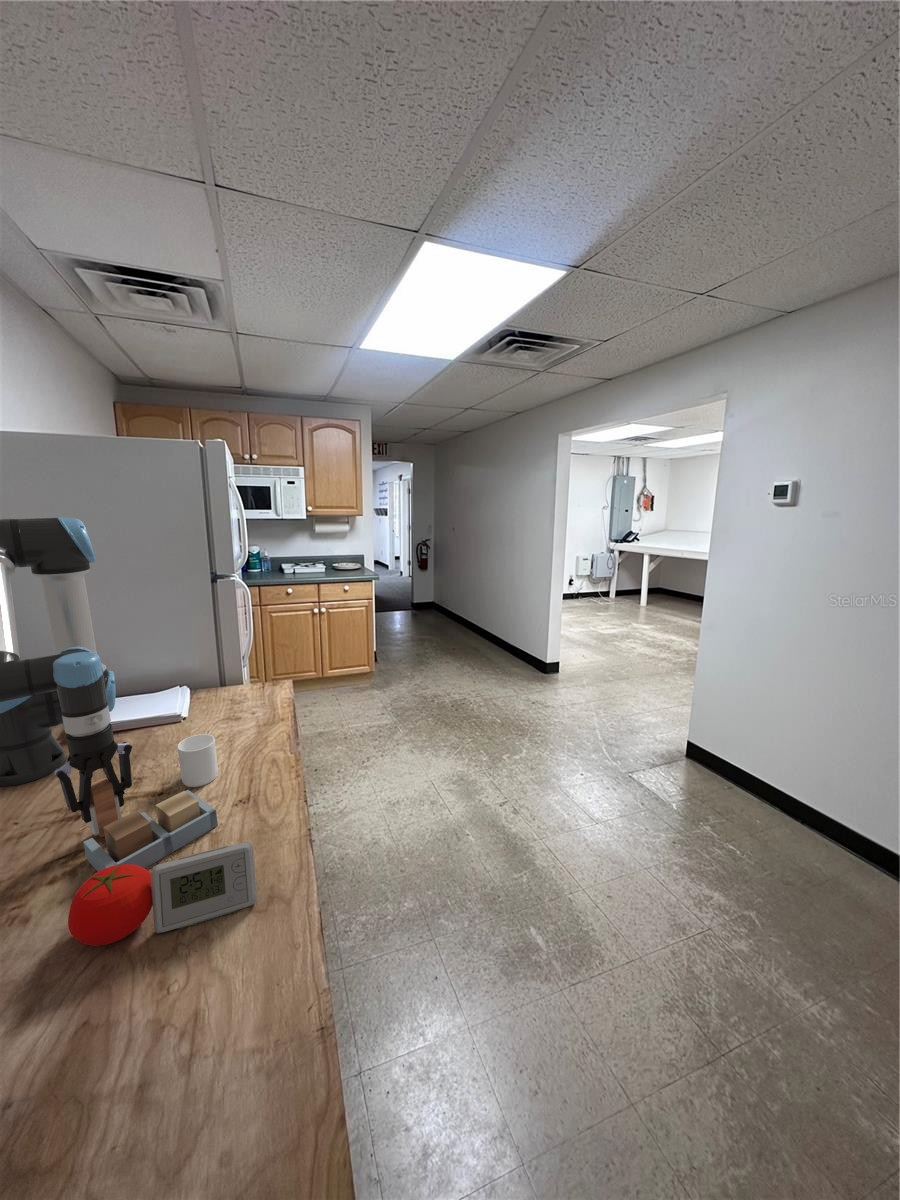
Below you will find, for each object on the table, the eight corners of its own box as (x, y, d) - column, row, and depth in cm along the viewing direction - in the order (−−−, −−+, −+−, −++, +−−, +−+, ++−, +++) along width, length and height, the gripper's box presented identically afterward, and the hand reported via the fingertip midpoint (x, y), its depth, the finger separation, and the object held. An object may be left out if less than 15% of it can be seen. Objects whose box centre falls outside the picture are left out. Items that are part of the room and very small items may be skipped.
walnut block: (87, 833, 100) (78, 788, 97) (119, 818, 105) (111, 774, 102) (121, 871, 91) (113, 822, 88) (155, 851, 96) (147, 805, 93)
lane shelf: (86, 858, 94) (83, 842, 93) (189, 804, 111) (187, 789, 110) (111, 887, 88) (108, 869, 87) (217, 825, 104) (216, 809, 103)
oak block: (159, 833, 102) (155, 805, 100) (187, 817, 106) (184, 790, 105) (173, 845, 98) (169, 816, 97) (201, 828, 103) (198, 800, 102)
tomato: (84, 912, 83) (74, 862, 80) (164, 890, 87) (157, 842, 85) (62, 971, 73) (50, 916, 70) (154, 943, 77) (145, 890, 75)
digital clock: (149, 939, 78) (140, 886, 75) (168, 894, 87) (161, 845, 84) (253, 922, 81) (248, 871, 79) (262, 880, 90) (257, 833, 87)
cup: (182, 791, 115) (177, 754, 113) (181, 766, 125) (177, 732, 123) (219, 781, 119) (215, 746, 117) (216, 758, 129) (212, 725, 127)
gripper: (43, 752, 87) (65, 858, 93) (141, 717, 100) (156, 812, 106) (30, 739, 91) (52, 841, 97) (126, 707, 104) (140, 799, 110)
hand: (106, 826), depth 101 cm, fingers closed on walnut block, 3 cm apart
